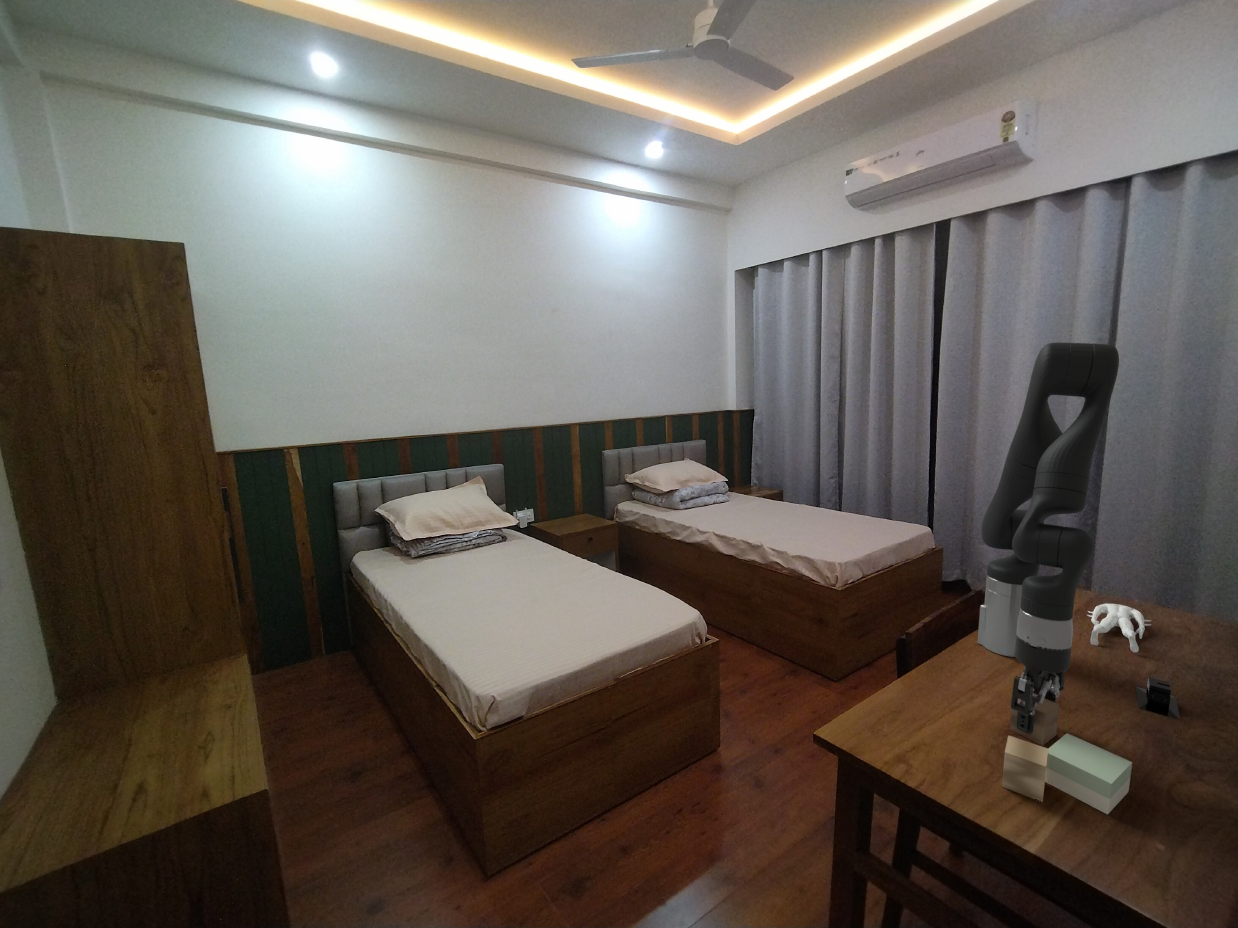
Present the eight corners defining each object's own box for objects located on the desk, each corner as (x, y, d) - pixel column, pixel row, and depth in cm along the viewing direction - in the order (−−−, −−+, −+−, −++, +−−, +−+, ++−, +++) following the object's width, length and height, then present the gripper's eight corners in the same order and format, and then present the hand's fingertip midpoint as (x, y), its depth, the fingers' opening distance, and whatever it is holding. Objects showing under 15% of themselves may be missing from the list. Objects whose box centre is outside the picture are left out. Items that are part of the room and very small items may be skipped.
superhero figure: (1145, 663, 117) (1147, 626, 135) (1153, 639, 116) (1154, 606, 133) (1078, 641, 125) (1088, 609, 143) (1084, 618, 124) (1093, 589, 141)
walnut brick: (1009, 729, 95) (1012, 699, 94) (1023, 720, 98) (1025, 690, 97) (1042, 745, 91) (1045, 713, 90) (1055, 735, 93) (1059, 704, 92)
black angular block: (1186, 729, 95) (1190, 705, 94) (1130, 713, 100) (1133, 691, 99) (1179, 697, 104) (1182, 675, 103) (1128, 684, 109) (1130, 663, 108)
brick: (1001, 786, 82) (1004, 751, 81) (1005, 768, 86) (1008, 735, 85) (1042, 802, 79) (1046, 766, 78) (1044, 783, 83) (1048, 748, 82)
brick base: (1041, 779, 83) (1044, 751, 82) (1064, 760, 87) (1067, 733, 86) (1107, 814, 76) (1111, 783, 76) (1128, 791, 80) (1132, 762, 80)
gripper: (1036, 619, 98) (1029, 699, 100) (998, 639, 91) (992, 725, 93) (1087, 634, 92) (1078, 720, 94) (1051, 657, 85) (1042, 749, 87)
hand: (1035, 722), depth 94 cm, fingers open, 8 cm apart
